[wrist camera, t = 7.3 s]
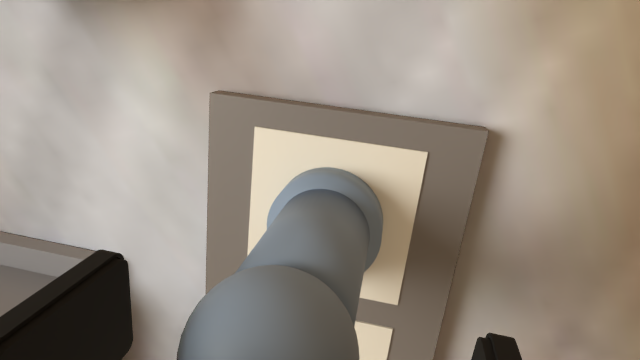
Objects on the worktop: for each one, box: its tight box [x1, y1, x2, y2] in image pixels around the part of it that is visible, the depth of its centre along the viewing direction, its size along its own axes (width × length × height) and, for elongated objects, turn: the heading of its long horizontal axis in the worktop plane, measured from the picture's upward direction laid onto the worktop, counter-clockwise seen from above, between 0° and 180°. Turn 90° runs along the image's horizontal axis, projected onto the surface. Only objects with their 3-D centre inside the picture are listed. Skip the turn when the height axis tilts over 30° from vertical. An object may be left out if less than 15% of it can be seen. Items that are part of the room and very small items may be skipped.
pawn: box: [177, 167, 383, 360], centre depth 14 cm, size 5×5×11 cm
